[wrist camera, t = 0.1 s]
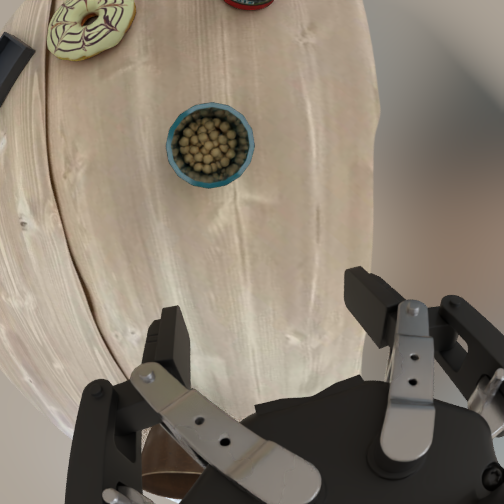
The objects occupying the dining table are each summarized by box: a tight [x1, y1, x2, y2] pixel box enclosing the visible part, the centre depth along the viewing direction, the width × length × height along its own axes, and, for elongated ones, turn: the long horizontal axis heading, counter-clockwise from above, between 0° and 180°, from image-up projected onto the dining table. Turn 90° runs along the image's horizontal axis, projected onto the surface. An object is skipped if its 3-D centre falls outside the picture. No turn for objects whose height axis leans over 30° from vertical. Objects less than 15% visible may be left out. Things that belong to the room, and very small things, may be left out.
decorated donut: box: [47, 0, 136, 61], centre depth 18 cm, size 10×11×4 cm
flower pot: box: [141, 424, 204, 499], centre depth 36 cm, size 15×15×16 cm
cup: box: [166, 102, 255, 189], centre depth 24 cm, size 6×6×10 cm
